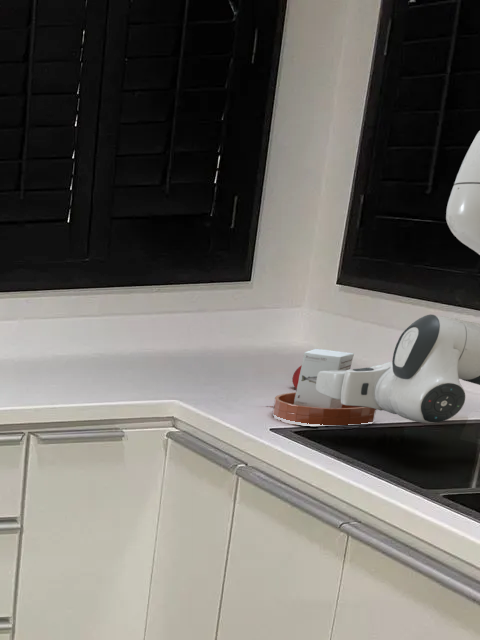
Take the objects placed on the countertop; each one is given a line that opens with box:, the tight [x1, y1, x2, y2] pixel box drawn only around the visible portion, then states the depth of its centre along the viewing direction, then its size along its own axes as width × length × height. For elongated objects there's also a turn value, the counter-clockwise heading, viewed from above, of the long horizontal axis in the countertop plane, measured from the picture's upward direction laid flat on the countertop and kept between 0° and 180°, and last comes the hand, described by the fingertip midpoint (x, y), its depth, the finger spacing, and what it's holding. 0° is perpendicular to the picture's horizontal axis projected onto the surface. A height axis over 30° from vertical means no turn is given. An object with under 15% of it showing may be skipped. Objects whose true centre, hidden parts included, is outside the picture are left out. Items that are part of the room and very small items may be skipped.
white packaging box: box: [294, 348, 355, 408], centre depth 240 cm, size 7×7×13 cm
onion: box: [291, 364, 302, 390], centre depth 263 cm, size 6×6×8 cm
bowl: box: [272, 391, 377, 425], centre depth 239 cm, size 18×18×4 cm
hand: (356, 374), depth 227 cm, fingers open, 8 cm apart
